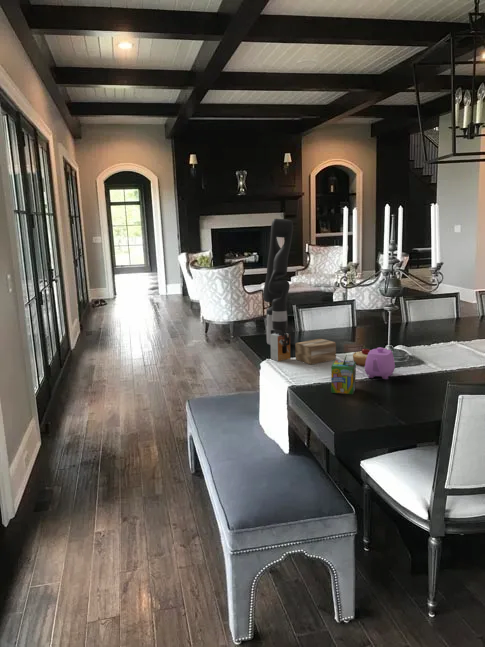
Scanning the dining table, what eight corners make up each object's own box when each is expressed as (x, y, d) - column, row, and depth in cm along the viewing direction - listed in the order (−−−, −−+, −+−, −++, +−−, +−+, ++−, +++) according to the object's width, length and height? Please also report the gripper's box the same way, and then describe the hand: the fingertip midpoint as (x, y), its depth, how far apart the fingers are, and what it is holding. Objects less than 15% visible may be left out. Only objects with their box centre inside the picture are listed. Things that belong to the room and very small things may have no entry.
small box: (278, 361, 263) (277, 336, 261) (270, 359, 268) (269, 334, 266) (290, 358, 268) (290, 333, 265) (283, 356, 273) (282, 331, 270)
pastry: (360, 369, 247) (360, 351, 245) (348, 362, 258) (348, 345, 256) (383, 365, 250) (383, 347, 248) (371, 359, 261) (370, 341, 259)
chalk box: (333, 386, 221) (333, 352, 218) (356, 387, 218) (356, 353, 216) (330, 393, 213) (330, 357, 210) (353, 394, 210) (353, 358, 207)
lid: (295, 344, 264) (295, 342, 263) (320, 339, 271) (320, 338, 271) (309, 348, 254) (309, 347, 254) (335, 343, 261) (335, 342, 261)
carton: (295, 359, 265) (295, 344, 264) (320, 354, 273) (320, 339, 272) (310, 365, 255) (310, 348, 253) (336, 359, 263) (336, 343, 261)
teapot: (370, 368, 245) (371, 342, 242) (398, 371, 239) (398, 343, 237) (359, 380, 227) (359, 352, 225) (389, 383, 222) (389, 354, 219)
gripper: (294, 320, 260) (294, 353, 263) (277, 316, 272) (278, 348, 275) (281, 322, 256) (282, 355, 259) (265, 318, 268) (266, 350, 272)
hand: (280, 351), depth 267 cm, fingers closed on small box, 6 cm apart
